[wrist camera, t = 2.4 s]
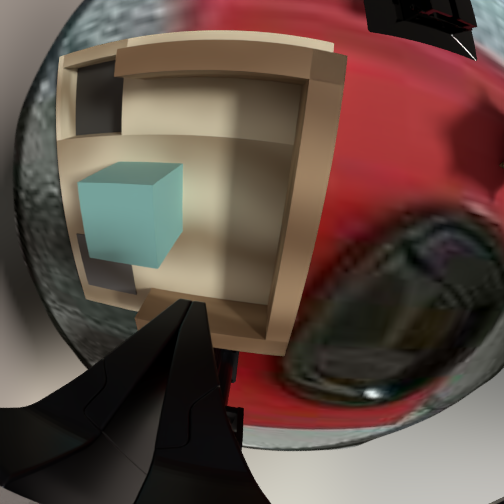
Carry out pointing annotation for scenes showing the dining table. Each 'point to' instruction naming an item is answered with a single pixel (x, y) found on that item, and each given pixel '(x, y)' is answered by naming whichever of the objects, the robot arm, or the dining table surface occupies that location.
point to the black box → (426, 22)
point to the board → (194, 166)
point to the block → (132, 211)
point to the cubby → (300, 177)
